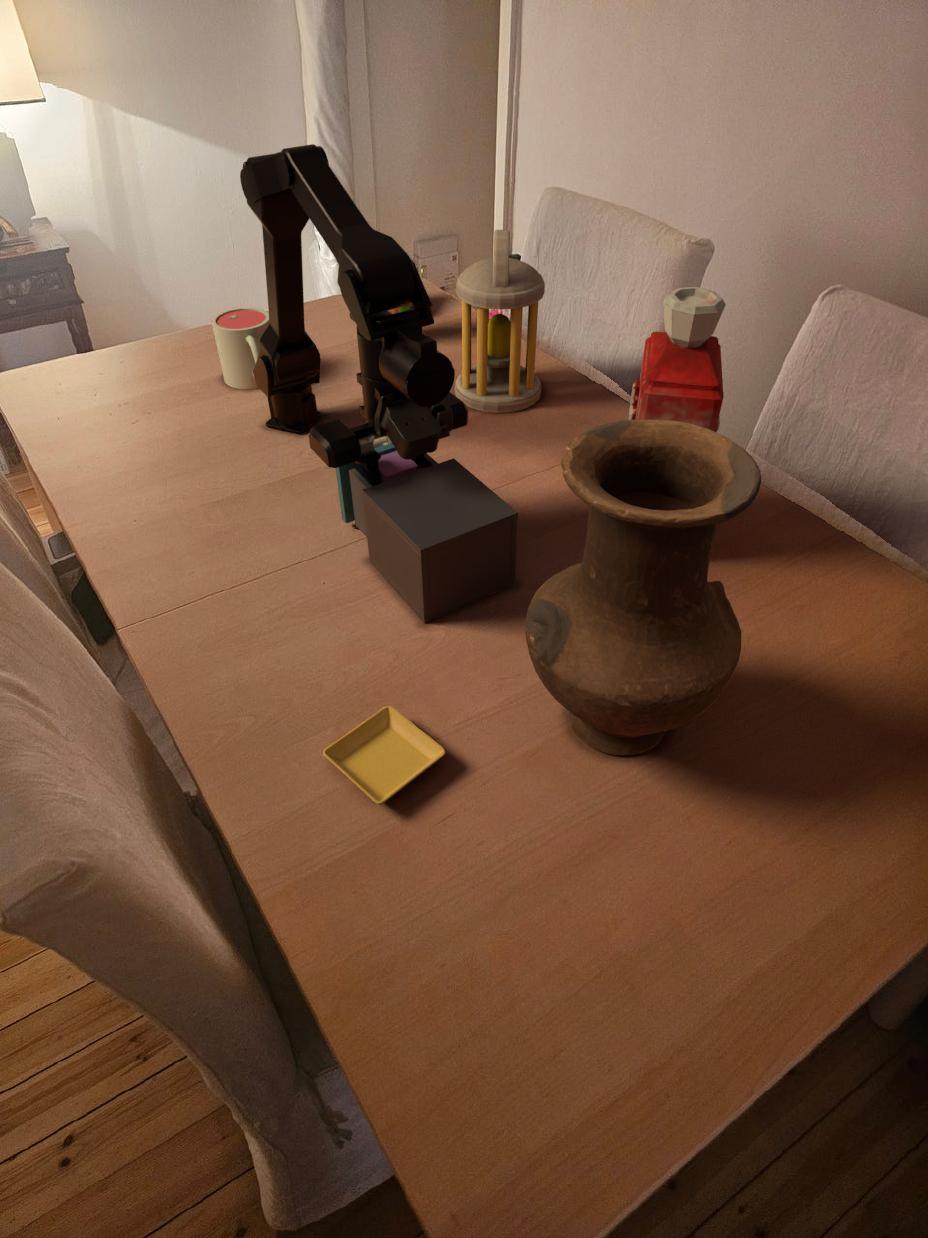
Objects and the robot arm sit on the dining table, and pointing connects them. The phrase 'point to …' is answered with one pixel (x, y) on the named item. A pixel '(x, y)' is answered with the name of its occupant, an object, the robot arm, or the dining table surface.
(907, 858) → the dining table surface
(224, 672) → the dining table surface
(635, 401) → the bottle
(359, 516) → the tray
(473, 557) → the dark grey box-shaped block
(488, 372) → the lantern
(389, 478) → the pink cube
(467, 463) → the dining table surface
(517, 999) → the dining table surface
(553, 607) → the vase
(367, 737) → the yellow square dish
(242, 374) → the mug
